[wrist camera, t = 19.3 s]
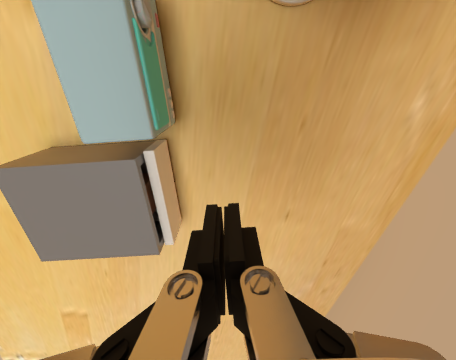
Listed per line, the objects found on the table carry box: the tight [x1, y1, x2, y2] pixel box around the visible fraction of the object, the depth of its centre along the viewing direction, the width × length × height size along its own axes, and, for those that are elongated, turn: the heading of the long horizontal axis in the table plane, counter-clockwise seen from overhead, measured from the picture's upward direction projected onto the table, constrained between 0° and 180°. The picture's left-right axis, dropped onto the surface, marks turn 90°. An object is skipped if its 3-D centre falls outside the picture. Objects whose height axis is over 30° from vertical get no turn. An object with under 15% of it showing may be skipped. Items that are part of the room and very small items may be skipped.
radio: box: [31, 0, 175, 144], centre depth 21 cm, size 16×9×20 cm, turn 4°
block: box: [142, 173, 156, 215], centre depth 34 cm, size 5×5×5 cm
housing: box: [0, 140, 165, 261], centre depth 33 cm, size 18×15×10 cm
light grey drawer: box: [140, 139, 182, 245], centre depth 34 cm, size 17×16×6 cm
